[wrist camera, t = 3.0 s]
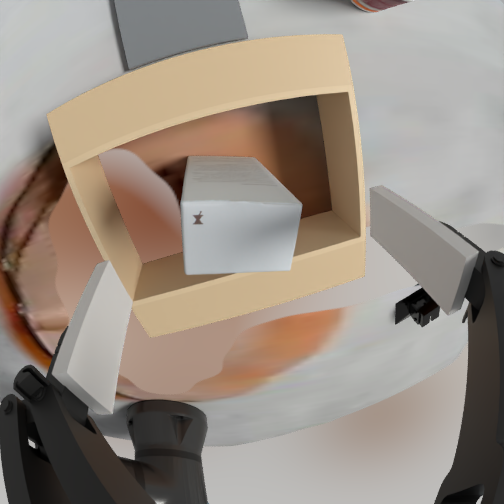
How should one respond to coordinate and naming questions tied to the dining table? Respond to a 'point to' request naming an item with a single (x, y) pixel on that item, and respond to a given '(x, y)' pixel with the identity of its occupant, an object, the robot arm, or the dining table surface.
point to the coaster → (175, 27)
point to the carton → (200, 105)
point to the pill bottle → (377, 4)
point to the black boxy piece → (417, 308)
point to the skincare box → (236, 217)
